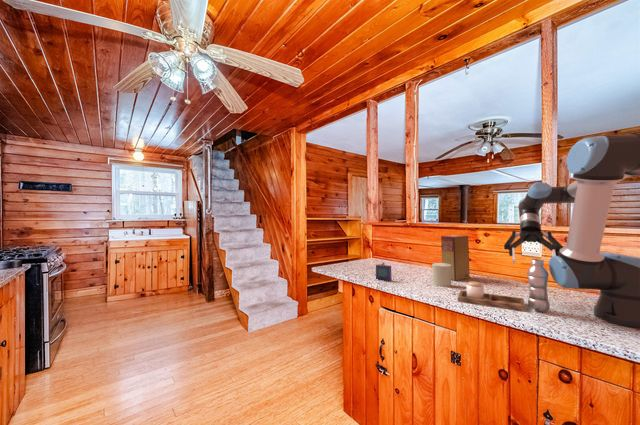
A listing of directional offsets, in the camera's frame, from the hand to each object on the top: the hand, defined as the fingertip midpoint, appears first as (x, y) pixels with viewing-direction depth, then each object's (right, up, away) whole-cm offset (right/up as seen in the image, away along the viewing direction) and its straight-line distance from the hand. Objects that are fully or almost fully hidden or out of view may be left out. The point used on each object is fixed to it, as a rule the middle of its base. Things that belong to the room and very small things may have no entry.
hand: (533, 263), depth 111 cm
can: (-25, -18, +29) cm, 43 cm away
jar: (-22, -17, +4) cm, 28 cm away
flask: (-52, -19, +44) cm, 71 cm away
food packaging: (-9, -18, +45) cm, 50 cm away
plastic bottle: (-4, -18, -7) cm, 19 cm away
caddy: (-18, -18, +1) cm, 25 cm away
